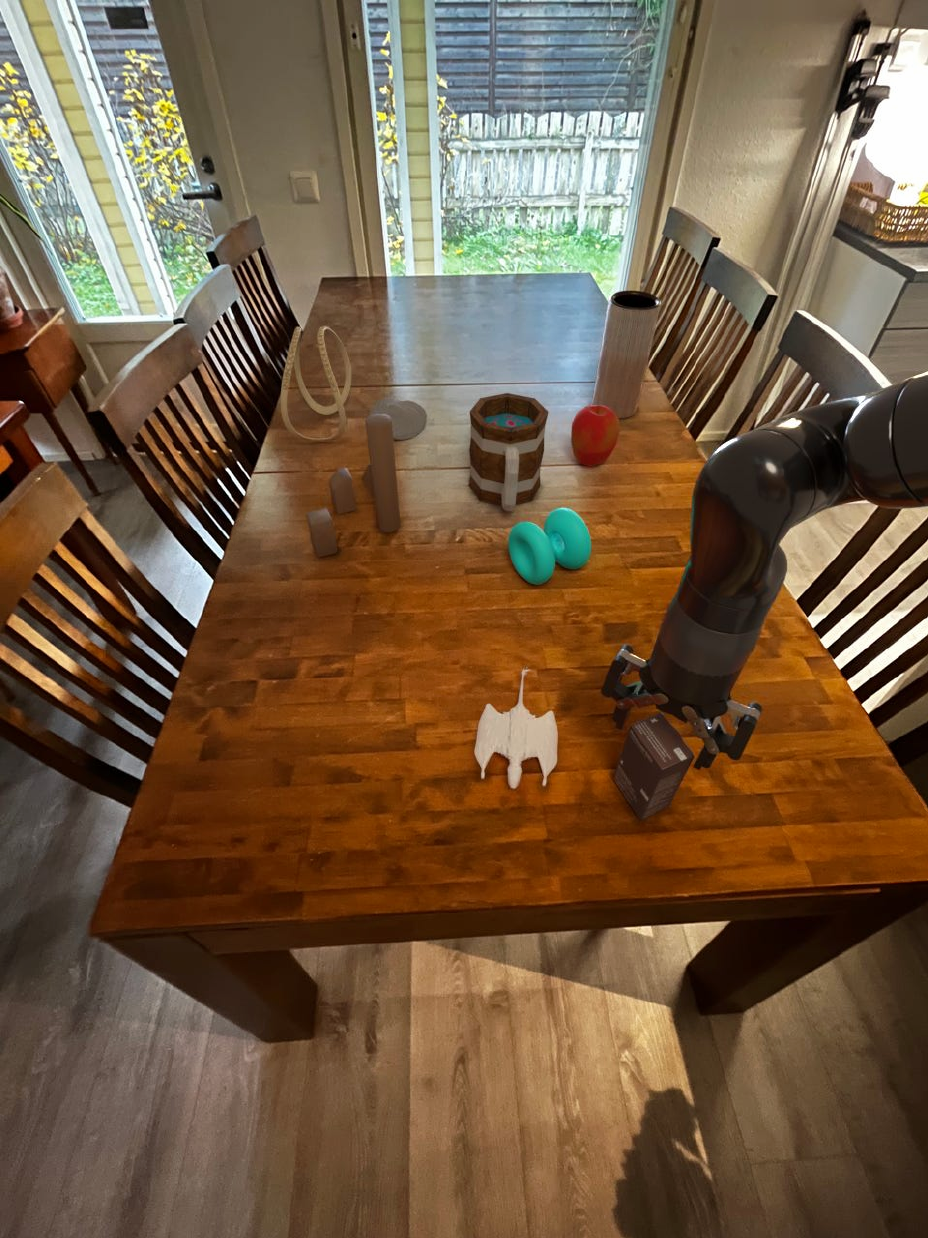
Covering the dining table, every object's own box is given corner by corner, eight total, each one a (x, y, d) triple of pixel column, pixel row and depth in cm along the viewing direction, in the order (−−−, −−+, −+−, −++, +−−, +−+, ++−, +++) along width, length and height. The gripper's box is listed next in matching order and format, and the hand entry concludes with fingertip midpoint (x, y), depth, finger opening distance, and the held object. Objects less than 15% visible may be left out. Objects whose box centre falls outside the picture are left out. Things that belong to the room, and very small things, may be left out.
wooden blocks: (379, 474, 120) (368, 372, 105) (414, 533, 107) (408, 427, 93) (291, 494, 115) (267, 390, 101) (317, 558, 103) (294, 450, 88)
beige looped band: (350, 453, 125) (336, 353, 110) (290, 456, 124) (268, 355, 110) (355, 402, 140) (343, 307, 125) (301, 403, 139) (283, 309, 124)
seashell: (377, 414, 136) (361, 431, 128) (380, 389, 132) (363, 404, 124) (428, 429, 135) (415, 447, 127) (432, 404, 132) (419, 420, 124)
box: (609, 780, 75) (628, 722, 66) (640, 767, 76) (664, 709, 67) (637, 824, 71) (662, 769, 62) (670, 810, 72) (699, 754, 64)
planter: (584, 399, 141) (601, 291, 125) (625, 395, 143) (647, 288, 126) (601, 421, 134) (621, 310, 118) (644, 416, 136) (670, 306, 120)
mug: (468, 465, 122) (469, 392, 111) (537, 466, 122) (544, 392, 111) (469, 528, 108) (470, 452, 98) (547, 528, 108) (556, 452, 98)
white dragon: (484, 676, 86) (485, 657, 83) (559, 684, 85) (563, 665, 82) (468, 796, 73) (468, 778, 70) (555, 807, 72) (559, 789, 69)
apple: (590, 480, 119) (600, 422, 110) (556, 460, 124) (564, 403, 115) (622, 463, 123) (635, 406, 114) (589, 444, 128) (598, 388, 119)
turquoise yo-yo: (589, 577, 100) (600, 527, 93) (538, 599, 96) (545, 549, 89) (552, 542, 106) (559, 493, 99) (503, 562, 102) (506, 512, 95)
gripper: (610, 632, 54) (582, 736, 66) (777, 707, 49) (715, 805, 61) (643, 583, 59) (611, 688, 70) (800, 647, 53) (737, 749, 65)
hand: (659, 742), depth 66 cm, fingers open, 8 cm apart
